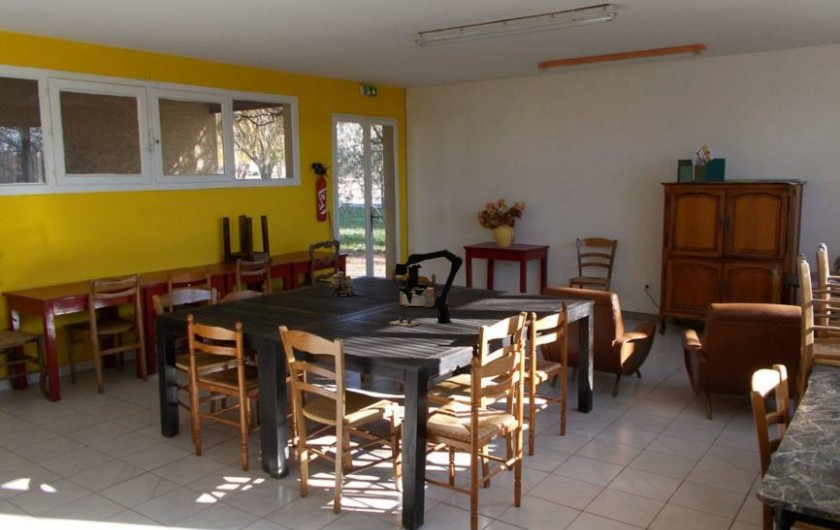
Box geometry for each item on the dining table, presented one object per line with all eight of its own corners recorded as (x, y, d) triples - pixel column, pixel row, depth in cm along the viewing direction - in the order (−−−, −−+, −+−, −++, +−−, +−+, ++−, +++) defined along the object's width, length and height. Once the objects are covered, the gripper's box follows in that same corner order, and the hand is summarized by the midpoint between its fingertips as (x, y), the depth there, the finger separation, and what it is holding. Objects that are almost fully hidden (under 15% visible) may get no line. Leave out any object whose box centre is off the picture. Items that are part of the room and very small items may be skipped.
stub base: (420, 324, 401) (420, 317, 400) (409, 327, 393) (409, 320, 393) (400, 321, 410) (400, 314, 410) (389, 324, 403) (389, 317, 402)
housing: (424, 304, 406) (424, 296, 405) (417, 306, 402) (417, 297, 401) (409, 302, 414) (409, 294, 413) (402, 303, 409) (402, 295, 409)
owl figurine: (330, 297, 493) (329, 273, 491) (328, 294, 505) (327, 271, 503) (356, 296, 498) (355, 271, 496) (353, 293, 509) (352, 269, 507)
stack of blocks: (399, 306, 458) (399, 287, 457) (402, 304, 464) (402, 286, 462) (431, 307, 452) (431, 288, 451) (434, 306, 458) (434, 287, 457)
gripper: (413, 272, 418) (413, 298, 420) (391, 276, 404) (392, 303, 406) (428, 274, 410) (428, 301, 412) (406, 278, 397) (406, 305, 399)
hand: (413, 302), depth 408 cm, fingers closed on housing, 6 cm apart
